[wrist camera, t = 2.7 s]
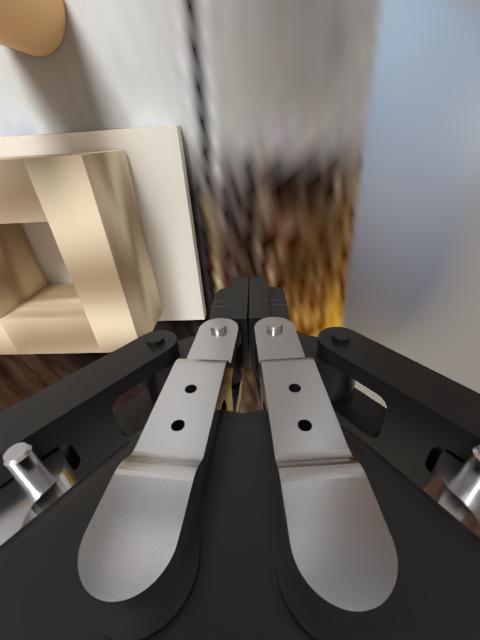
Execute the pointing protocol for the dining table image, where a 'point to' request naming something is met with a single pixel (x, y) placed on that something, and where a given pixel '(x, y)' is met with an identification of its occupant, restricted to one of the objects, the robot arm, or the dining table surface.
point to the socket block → (74, 256)
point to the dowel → (32, 25)
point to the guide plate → (153, 203)
